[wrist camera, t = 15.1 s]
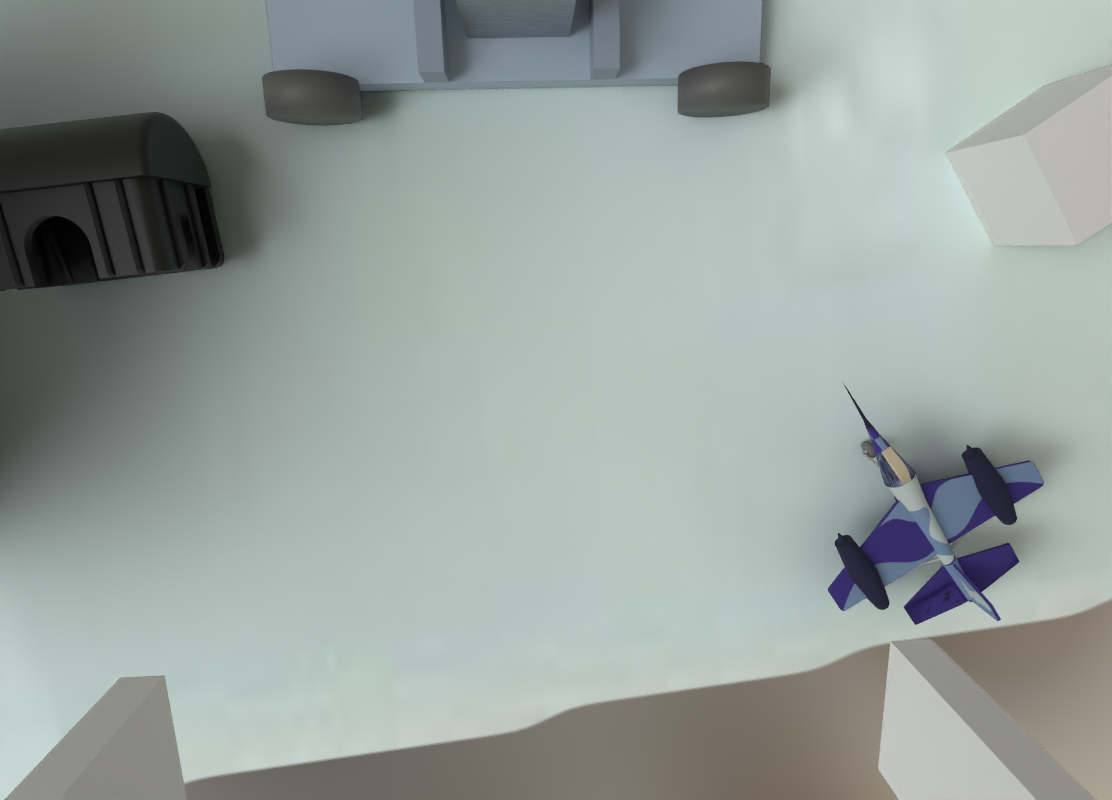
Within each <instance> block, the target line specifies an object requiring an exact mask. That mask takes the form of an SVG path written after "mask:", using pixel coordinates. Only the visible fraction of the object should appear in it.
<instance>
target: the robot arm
mask: <svg viewBox="0 0 1112 800" xmlns="http://www.w3.org/2000/svg"><path fill="white" fill-rule="evenodd" d="M885 695H886V696H885V705H884V715H883V726H882V736H881V746H880V756H879V766H878V769H879V770H880V772H881V773H882V775H883V776H884V778H885V779H886V781H887V782H888V784H889V785H890V787H891V788H892V790H893V791H894V793H895V794H896V796H897V797H898V799H899V800H1096V799H1095V798H1094V797H1093V796H1092V795H1091V794H1090V793H1089V792H1088V791H1087V790H1086V789H1084V787H1082V785H1081V784H1080V783H1078V782H1077V781H1076V780H1075V779H1074V778H1073V777H1072V776H1071V775H1070V774H1069V773H1068V772H1067V771H1066V770H1065V769H1064V768H1063V767H1062V766H1061V765H1060V764H1059V763H1058V762H1057V761H1056V760H1055V759H1054V758H1053V757H1052V756H1051V755H1050V754H1049V753H1048V752H1047V751H1046V750H1044V748H1043V747H1041V746H1040V745H1039V744H1038V743H1037V742H1036V741H1035V740H1034V739H1033V738H1032V737H1031V736H1030V735H1029V734H1028V733H1027V732H1026V731H1025V730H1024V729H1023V728H1022V727H1021V726H1020V725H1019V724H1018V723H1017V722H1016V721H1014V719H1013V718H1012V717H1011V716H1010V715H1009V714H1008V713H1006V712H1005V711H1004V710H1003V709H1002V708H1001V707H1000V706H999V705H998V704H997V703H996V702H995V701H994V700H993V699H992V698H991V697H990V696H989V695H988V694H987V693H986V692H985V691H984V690H983V689H982V688H981V687H980V686H979V685H978V684H977V683H976V682H974V680H972V678H970V676H969V675H967V674H966V673H965V672H964V671H963V670H962V669H961V668H960V667H959V666H958V665H957V664H956V663H955V662H954V661H953V660H952V659H951V658H950V657H949V656H948V655H947V654H946V653H945V652H944V651H943V650H942V649H941V648H940V647H939V646H938V645H937V644H935V642H934V641H933V640H932V639H930V640H909V641H891V643H890V654H889V664H888V674H887V684H886V694H885ZM5 800H187V798H186V792H185V787H184V781H183V776H182V770H181V764H180V759H179V753H178V748H177V742H176V737H175V731H174V726H173V720H172V714H171V709H170V703H169V698H168V692H167V687H166V681H165V676H145V677H124V678H120V679H119V680H118V681H117V682H116V683H115V684H114V685H113V686H112V687H111V688H110V689H109V690H108V691H107V692H106V693H105V694H104V696H103V697H102V698H101V699H100V700H99V701H98V702H97V703H96V704H95V705H94V706H93V707H92V708H91V709H90V710H89V711H88V712H87V713H86V714H85V716H84V717H83V718H82V719H81V720H80V721H79V722H78V723H77V724H76V725H75V726H74V727H73V728H72V729H71V730H70V731H69V732H68V733H67V734H66V736H65V737H64V738H63V739H62V740H61V741H60V742H59V743H58V744H57V745H56V746H55V747H54V748H53V749H52V750H51V751H50V752H49V753H48V754H47V756H46V757H45V758H44V759H43V760H42V761H41V762H40V763H39V764H38V765H37V766H36V767H35V768H34V769H33V770H32V771H31V772H30V773H29V774H28V776H27V777H26V778H25V779H24V780H23V781H22V782H21V783H20V784H19V785H18V786H17V787H16V788H15V789H14V790H13V791H12V792H11V793H10V794H9V795H8V797H7V798H6V799H5Z"/></svg>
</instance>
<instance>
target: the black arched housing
mask: <svg viewBox="0 0 1112 800" xmlns="http://www.w3.org/2000/svg"><path fill="white" fill-rule="evenodd" d="M210 187H211V183H210V180H209V176H208V173H207V170H206V167H205V164H204V162H203V160H202V157H201V155H200V153H199V151H198V149H197V147H196V145H195V144H194V142H193V140H192V139H191V137H190V136H189V134H188V133H187V132H186V131H185V129H184V128H183V127H182V126H181V125H180V124H179V123H178V122H177V121H176V120H174V119H173V118H172V117H170V116H168V115H166V114H164V113H159V112H149V113H140V114H132V115H123V116H114V117H105V118H97V119H88V120H79V121H70V122H61V123H53V124H44V125H35V126H26V127H18V128H9V129H0V291H5V290H7V289H15V288H17V289H18V290H20V289H32V288H43V287H52V286H61V285H62V286H64V285H74V284H83V283H91V282H100V281H108V280H117V279H125V278H134V277H142V276H151V275H159V274H168V273H177V272H185V271H194V270H202V269H211V268H217V267H219V266H221V265H222V263H223V262H224V253H223V249H222V244H221V240H220V235H219V231H218V226H217V222H216V217H215V213H214V208H213V204H212V199H211V195H210V191H209V188H210Z"/></svg>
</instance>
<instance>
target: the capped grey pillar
mask: <svg viewBox="0 0 1112 800" xmlns="http://www.w3.org/2000/svg"><path fill="white" fill-rule="evenodd" d="M456 3H457V6H458V9H459V13H460V16H461V20H462V23H463V26H464V30H465V33H466V37H467V38H528V37H569V36H570V30H571V25H572V20H573V15H574V9H575V4H576V0H456Z"/></svg>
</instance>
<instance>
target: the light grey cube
mask: <svg viewBox="0 0 1112 800" xmlns="http://www.w3.org/2000/svg"><path fill="white" fill-rule="evenodd" d="M945 154H946V155H947V157H948V159H949V161H950V163H951V165H952V167H953V169H954V171H955V173H956V175H957V177H958V179H959V181H960V183H961V185H962V187H963V188H964V190H965V192H966V194H967V196H968V198H969V200H970V202H971V204H972V206H973V208H974V210H975V212H976V214H977V216H978V218H979V220H980V221H981V223H982V225H983V227H984V229H985V231H986V233H987V235H988V237H989V239H990V241H991V243H992V245H993V246H1039V245H1079V244H1080V243H1082V242H1083V241H1085V240H1086V239H1088V238H1089V237H1091V236H1093V235H1094V234H1096V233H1097V232H1099V231H1100V230H1102V229H1103V228H1105V227H1106V226H1108V225H1109V224H1111V223H1112V64H1111V65H1108V66H1105V67H1102V68H1099V69H1096V70H1092V71H1089V72H1086V73H1083V74H1080V75H1077V76H1073V77H1070V78H1067V79H1064V80H1061V81H1058V82H1054V83H1051V84H1048V85H1045V86H1043V87H1041V88H1040V89H1038V90H1037V91H1035V92H1034V93H1032V94H1031V95H1029V96H1028V97H1026V98H1025V99H1023V100H1022V101H1021V102H1019V103H1018V104H1016V105H1015V106H1013V107H1012V108H1010V109H1009V110H1007V111H1006V112H1004V113H1003V114H1002V115H1000V116H999V117H997V118H996V119H994V120H993V121H991V122H990V123H988V124H987V125H985V126H984V127H982V128H981V129H980V130H978V131H977V132H975V133H974V134H972V135H971V136H969V137H968V138H966V139H965V140H963V141H962V142H961V143H959V144H958V145H956V146H955V147H953V148H952V149H950V150H949V151H947V152H946V153H945Z"/></svg>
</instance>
